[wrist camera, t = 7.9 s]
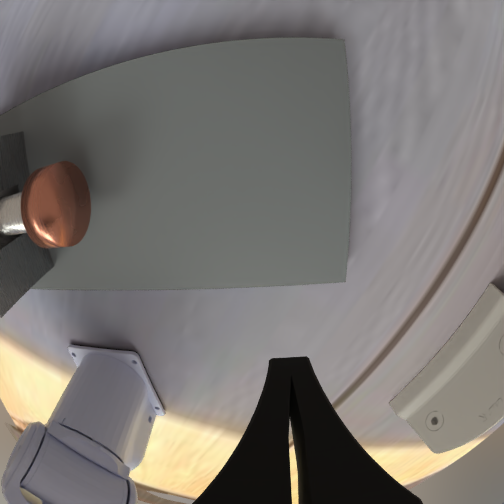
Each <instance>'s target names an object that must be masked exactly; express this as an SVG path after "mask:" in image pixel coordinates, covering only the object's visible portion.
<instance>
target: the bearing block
mask: <svg viewBox="0 0 504 504" xmlns="http://www.w3.org/2000/svg"><path fill="white" fill-rule="evenodd" d="M29 176H30V173H29V167H28V161H27V155H26V148H25V141H24V132H23V131H22V132H17V133H12V134H8V135H3V136H0V198H3V197H6V196H9V195H12V194H16V193H19V192H22V191H23V187H24V185H25V182H26V180H27V179H28V177H29ZM53 267H54V264H53V261H52V258H51V255H50V252H49V249H48V248H42V247H40V246H38V245H37V244H35V243H34V242H33V241H32V240H31V238H30V237H29V235H28V234H27V233H22V234H16V235H9V236H3V237H0V317H1V318H2V317H3V316H4V315H5V313H6V312H7V311H8V310H9V309H10V308H11V307H12V306H13V305H14V304H15V303H16V302H17V301H18V300H19V299H20V298H21V297H22V296H23V295H24V294H25V293H26V292H27V291H28V290H29V289H30V288H31V287H32V286H33V285H35V284H36V283H37V282H38V281H39V280H40V279H41V278H42V277H43V276H44V275H45V274H46V273H47V272H48V271H50V270H51V269H52V268H53Z"/></svg>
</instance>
